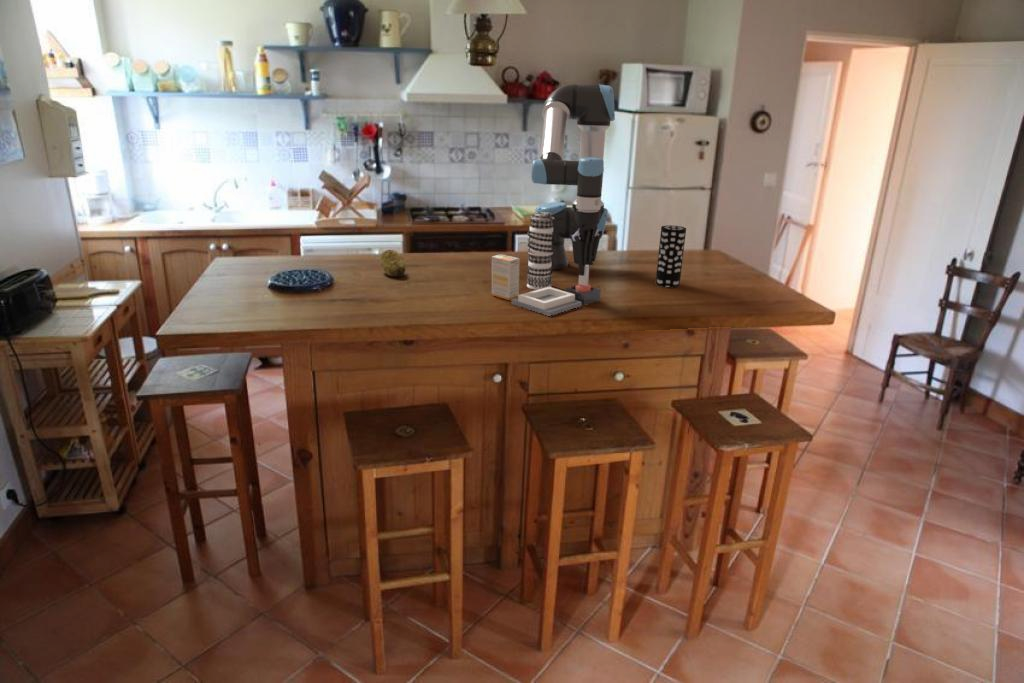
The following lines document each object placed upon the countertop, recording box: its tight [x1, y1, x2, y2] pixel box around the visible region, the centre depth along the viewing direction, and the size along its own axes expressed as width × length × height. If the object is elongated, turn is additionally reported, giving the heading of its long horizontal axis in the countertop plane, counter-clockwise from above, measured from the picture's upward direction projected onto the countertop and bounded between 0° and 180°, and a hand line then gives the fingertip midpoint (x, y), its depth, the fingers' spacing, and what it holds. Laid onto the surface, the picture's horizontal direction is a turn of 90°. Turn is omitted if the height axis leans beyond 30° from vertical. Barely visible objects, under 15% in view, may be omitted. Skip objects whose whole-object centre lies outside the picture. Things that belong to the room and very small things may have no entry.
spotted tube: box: [655, 224, 687, 289], centre depth 233 cm, size 8×8×20 cm
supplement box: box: [491, 253, 520, 301], centre depth 216 cm, size 8×5×13 cm, turn 47°
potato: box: [380, 249, 406, 278], centre depth 239 cm, size 8×13×8 cm, turn 12°
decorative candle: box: [526, 211, 555, 291], centre depth 226 cm, size 9×9×25 cm
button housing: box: [564, 284, 602, 306], centre depth 215 cm, size 8×8×4 cm
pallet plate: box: [510, 286, 583, 317], centre depth 210 cm, size 16×15×4 cm
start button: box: [574, 283, 592, 292], centre depth 215 cm, size 5×5×4 cm
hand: (583, 284), depth 214 cm, fingers closed
